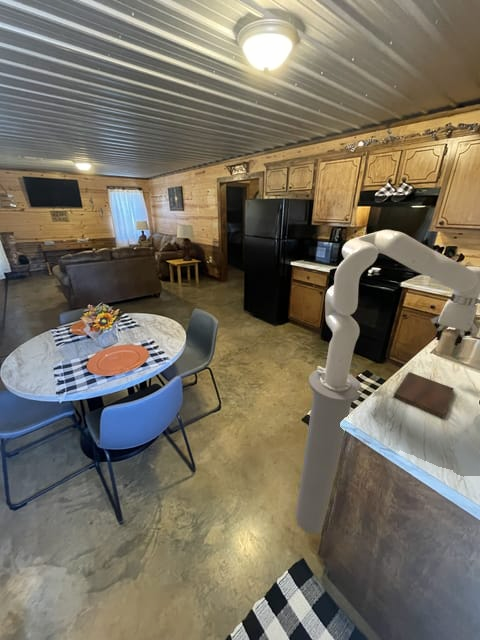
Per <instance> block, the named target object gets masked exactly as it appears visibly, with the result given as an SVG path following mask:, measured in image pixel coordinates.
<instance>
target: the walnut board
mask: <svg viewBox="0 0 480 640" xmlns="http://www.w3.org/2000/svg"><path fill="white" fill-rule="evenodd" d="M453 392H454V387H451V386H449V385H446V384H443V383H441V382H438V381H435V380H432V379H429V378H426V377H424V376H421V375H418V374H416V373H414V372H410V371H408V372H407V374H406V376H405V377H404V379H403V380H402V381H401V383H400V384H399V386H398V388H397V389H396V390H395V393H394V394H393V398H394V399H397V400H399V401H402V402H404V403H407V404H408V405H411V406H413V407H415V408H418V409H420V410H422V411H424V412H427V413H429V414H431V415H434V416H436V417H438V418H441V419H444V417H445V415H446V412H447V409H448V406H449V403H450V400H451V397H452V394H453Z"/></svg>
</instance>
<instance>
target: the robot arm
mask: <svg viewBox="0 0 480 640" xmlns="http://www.w3.org/2000/svg"><path fill="white" fill-rule="evenodd" d="M379 254H382V255H385V256H387V257H389V258H391V259H392V260H394V261H396V262H398V263H399V264H402V265H403V266H405V267H407V268H408V269H410V270H413V271H415V272H416V273H418V274H421V275H423V276H426V277H429V278H432V279H433V280H434V281H435V282H436V283H437V284H439V285H441V286H444V287H447V288H449V289H450V290H451V289H452V290H453V292H452V294H451V296H450V299H447V301H446V302H445V304H444V305H443V308H442V310H441V313H440V314H438V315H436V316H434V317H432V318H431V319H430V322H431V323H432V324H433V326H434V328H435V329H436V334H435V338H436V339H435V340H436V341H438V340H439V338H440V335H441V333H442V331H443V328H444V327H448V328H451V329H455V330H459V334H458V335H459V336H458V339H457V341H456V344H455V346H456V347H457V346H458V344H462V341H463V338H465V337H467V336H470V335H474V334H476V333H478V332H479V329H478V327H477V325H476V324H475V323H474V320H475V318H476V314H477V310H478V304H480V298H479V296H480V266H471V265H468V266H465V265H463V264H462V263H460V262H458V261H456V260H454V259H451V258H449V257H447V256H446V255H444V254H441V252H439V251H437V250H435V249H433V248H431V247H429V246H427V245H425V244H423V243H422V242H420V241H418V240H416V239H415V238H413V237H411V236H409V235H408V234H406V233H404V232H401V231H397V230H392V229H382V230H379V231H374V232H372V233H368V234H364V235H361V236H357V237H354V238H351V239H349V240H347V241H346V242H345V243H344V244H343V246H342V248H341V255H342V257H343V259H342V261H341V262H340V263H339V265H338V266H337V268H336V270H335V273H334V277H333V281H334V282H333V285H331V286H330V287H328V289H327V291H326V293H325V299H324V302H325V303H324V305H325V306H324V307H325V308H324V309H325V310H324V311H325V312H324V313H325V315H324V316H325V322H326V325H327V326H328V328H329V330H330V331H331V332H332V337H331V339H330V340H329V344H328V350H327V357H326V361H325V362H326V363H325V367H323V366H321V365H318V366H317V367H316V370H317V373H319V374H321V377H320V382H321V384H322V385H323V386H324V387H325V388H327V389H329V390H332V391H336V392H343V391H346V390H348V389H349V388H350V381H349V380H348V374H350V370H351V364H352V359H353V355H354V351H355V347H356V343H357V340H358V339H359V336H360V333H361V332H360V331H361V330H360V325H359V323H358V322H357V321H356V319H354V318H353V317H352V315H353V314H354V313H355V312H356V310H357V309H358V306H359V305H358V304H359V284H360V279H361V276H362V274H363V273H364V272H365V271H366V270H367V269H368V268H369V267H370V266H372V265H373V264H374V263H375V262H376V260H377V259H378V255H379Z"/></svg>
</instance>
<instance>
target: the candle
mask: <svg viewBox="0 0 480 640" xmlns="http://www.w3.org/2000/svg"><path fill="white" fill-rule="evenodd" d="M442 330H443V329H442ZM459 335H460V334H458V332H457V331H456V329H454V328H445V329H444V330H443V331H442V333H441V335H440V338H439V340H437V344H436V345H435V348H434V350H435V352H437V353H438V354H441V355H444V356H450V355H452V353H453V351H454V348H455V346H456V345H455V344H456V341H457V339H458V336H459Z"/></svg>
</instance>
